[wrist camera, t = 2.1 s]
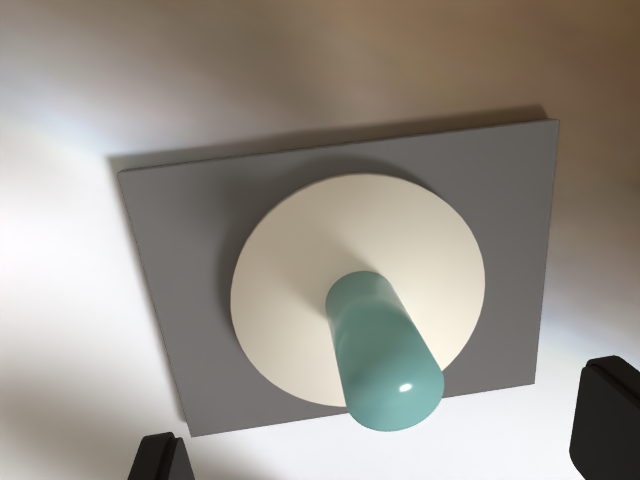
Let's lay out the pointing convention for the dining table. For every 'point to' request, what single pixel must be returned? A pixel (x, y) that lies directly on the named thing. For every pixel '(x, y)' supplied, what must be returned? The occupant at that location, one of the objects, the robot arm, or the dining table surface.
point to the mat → (298, 171)
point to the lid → (359, 296)
